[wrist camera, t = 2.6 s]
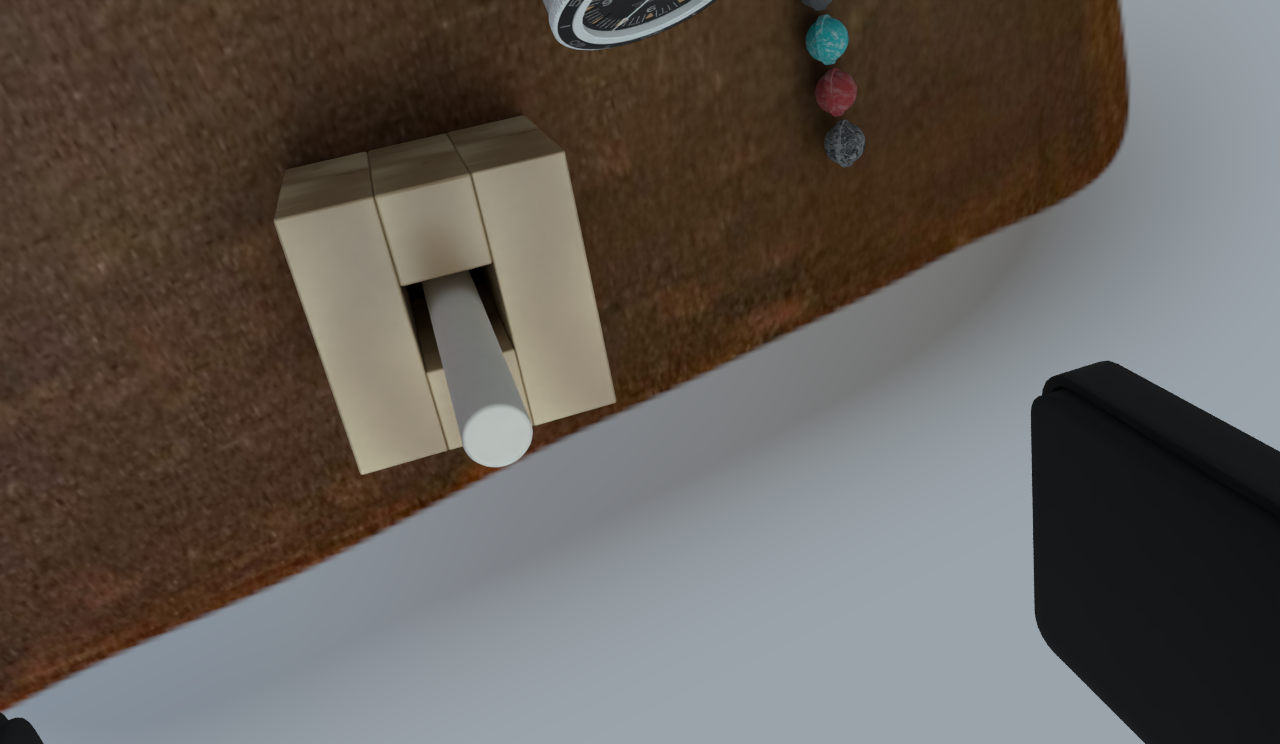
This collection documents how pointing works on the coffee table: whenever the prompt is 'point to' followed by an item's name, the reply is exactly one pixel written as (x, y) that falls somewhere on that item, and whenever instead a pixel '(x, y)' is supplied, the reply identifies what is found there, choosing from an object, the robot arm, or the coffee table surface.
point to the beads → (834, 86)
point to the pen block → (433, 247)
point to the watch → (616, 20)
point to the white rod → (476, 373)
